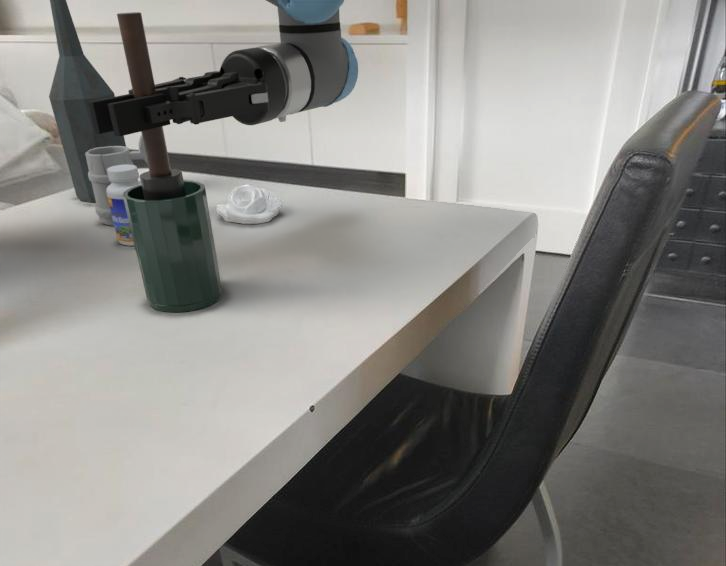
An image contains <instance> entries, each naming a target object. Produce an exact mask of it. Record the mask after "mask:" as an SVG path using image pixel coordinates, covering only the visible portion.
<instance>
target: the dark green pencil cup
mask: <svg viewBox="0 0 726 566" xmlns="http://www.w3.org/2000/svg"><path fill="white" fill-rule="evenodd" d="M183 181H184V186H185V192H186V196H183V197H179V198H173V199H165V200H144V195H143V190H142V186H141V185H138V186H134V187H132V188H130V189H127V190H126V191H125V192H124V193H123V199H124V203H125V208H126V212H127V216H128V220H129V225H130V229H131V233H132V237H133V241H134V246H133V247H134V249H135V254H136V259H137V262H138V263H137V264H138V266H139V267H138V268H139V271H140V275H141V279H142V284H143V288H144V291H145V297H146V298H147V303H148V305H149V306H150V307H151V308H152V309H154V310H156V311H161V312H165V313H185V312H193V311H197V310H198V311H199V310H201V309H205V308H207V307H210V306H213V305H214V304H215V303H217V302H218V301H219V300H221V298H222V297H223V287H222V281H221V275H220V268H219V263H218V257H217V250H216V244H215V239H214V233H213V228H212V220H211V214H210V208H209V203H208V197H207V191H206V186H205V184H203V183H202V182H200V181H196V180H190V179H188V180H187V179H183Z"/></svg>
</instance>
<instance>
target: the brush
mask: <svg viewBox="0 0 726 566" xmlns="http://www.w3.org/2000/svg"><path fill="white" fill-rule="evenodd" d="M116 17H117V21H118V27H119V31H120V37H121V41H122V46H123V52H124V55H125V60H126V66H127V71H128V75H129V80H130V84H131V90H133V95H134V98H140V97H145V96H150V95H155V94H156V89H155V84H156V83H155V80H154V73H153V68H152V62H151V58H150V52H149V48H148V42H147V36H146V31H145V25H144V20H143V15H142V12H139V11H138V12H137V11H136V12H135V11H134V12H133V11H132V12H118V13H116ZM140 134H141V135H142V138H143V143H144V148H145V153H146V157H147V162H148V164H147V167H148V171H145V172H142V173H140V174H139V180H140V181H139V182H141V186H142V190H143V195H144V200H165V199H173V198H179V197H183V196H186V192H185V186H184V181H183V180H184V176H183V172H182V170H180V169H175V168H171V164H170V157H169V152H168V148H167V147H168V146H167V142H166V137H165V132H164V126H162V127H157V128H153V129H149V130H145V131H141V132H140Z"/></svg>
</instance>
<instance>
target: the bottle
mask: <svg viewBox="0 0 726 566" xmlns="http://www.w3.org/2000/svg"><path fill="white" fill-rule="evenodd" d="M49 3H50V9H51V15H52V20H53V26H54V27H53V28H54V33H55V36H56V37H55V38H56V44H57V51H58V60H57V63H56V68H55V71H54V75H53V79H52V82H51V87H50V89H49V90H50V91H49V95H48V98H49V102H50V105H51V109H52V113H53V116H54V120H55V123H56V127H57V130H58V134H59V138H60V142H61V145H62V149H63V152H64V156H65V161H66V163H67V166H68V170H69V175H70V178H71V181H72V184H73V185H72V186H73V189H74V193H75V196H76V197H77V199H79V200H80V202H87V203H93V204H94V203H96V200H95V196H94V191H93V187H92V182H91V181H90V180H89V177H88V172H89V169H88V164H87V160H86V155H85V153H86V152H88V151H89V150H91V149H94V148H99V147H107V146H112V147H113V146H124V147H127V144H126V139H125V135H124V136H115V134H114V131H111V132H107V133H102V134H96V133H95V131H94V127H93V123H92V119H91V115H90V111H89V106H88V102H90V101H95V100H100V99H105V98H111V97H116V95H115V92H114V91H113V90H112V88H111V86H109V85H108V84H107V82H106V81H105V79H104V78H103V76H102V75H101V74H100V73H99V72H98V71H97V69H96V68H95V66H93V64H92V63H91V61H90V60H89V59H88V58H87V56H86V55H85V54H84V50H83V47H82V45H81V42H80V38H79V35H78V32H77V30H76V27H75V24H74V19H73V17H72V15H71V11H70V9H69V5H68V2H67V0H49Z"/></svg>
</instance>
